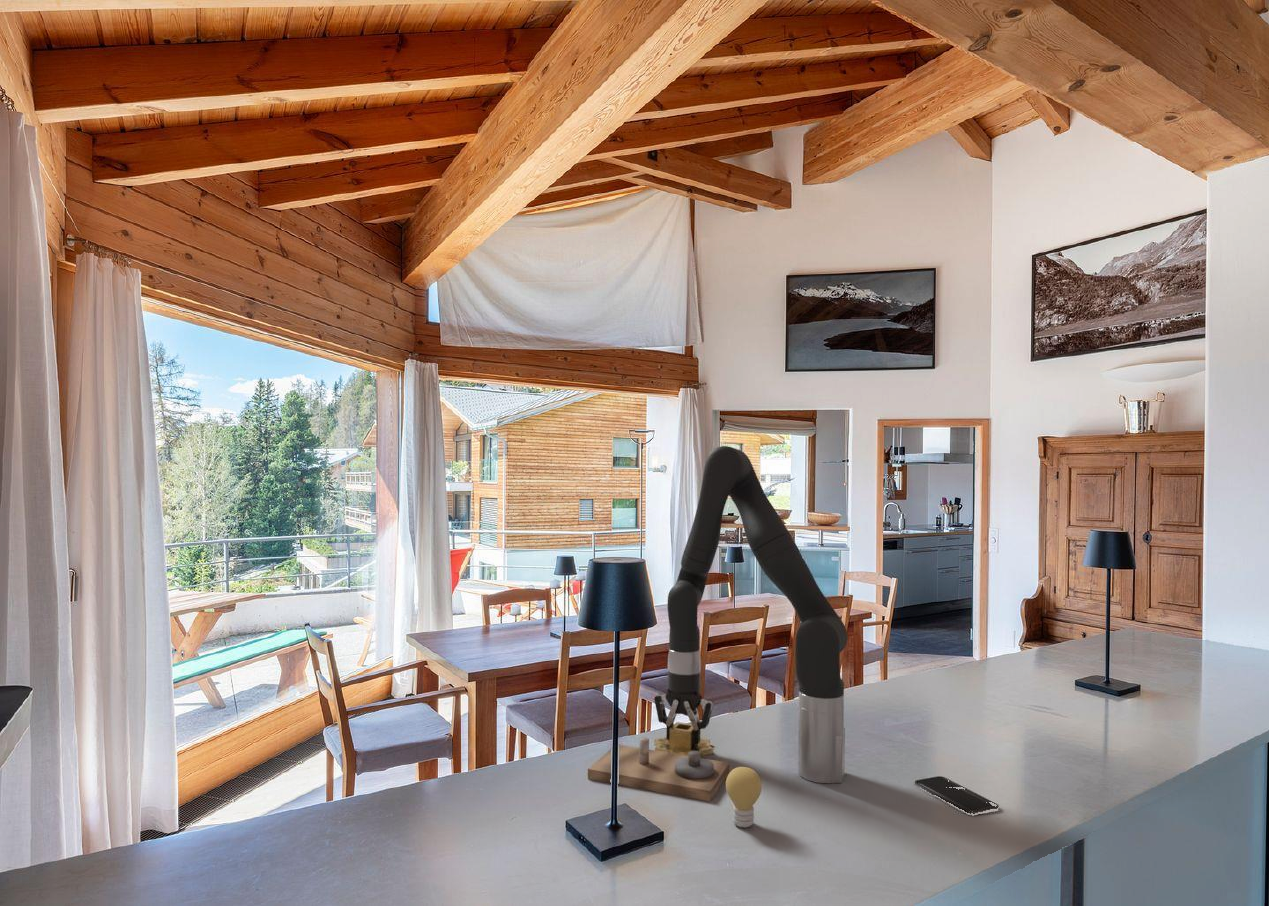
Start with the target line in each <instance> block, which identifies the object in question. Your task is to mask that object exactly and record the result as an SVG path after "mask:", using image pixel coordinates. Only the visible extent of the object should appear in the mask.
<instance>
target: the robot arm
mask: <svg viewBox="0 0 1269 906" xmlns="http://www.w3.org/2000/svg"><path fill="white" fill-rule="evenodd" d="M729 497H730V499H731V500H732V501H733V503H734V505H735V507H736V508H737V511H738V513H739V515H740V519H741V523H742V525H743V531H744V535H745V538H746V539H747V541H746V542H747V543H748V545H749V548H750V550H751V552H752V555H754V557H755V559H756V562H757V563H758V565H759V566H760V568H761V570H762V571H763V573H764V574H765V576H767V578H768V579H769V580H770V581H771V582H772V583H773V585H774V586H776V588H777V589H778V590H779V591H780V592H781V593H782V594H783V595H784V596H785V597H786V598H787V600H788V601H789V603H790V604H791V605H792V608H794V611H795V613H796V614H797V617H798V618H799V620H800V625H799V626H798V628H797V631H796V634H795V648H794V649H795V673H796V675H795V676H796V679H797V682H798V741H797V742H798V753H797V754H798V761H797V764H798V765H797V767H798V768H797V770H798V771H797V773H798V774H799V776H800V777H802V778H804V779H806V780H808V781H809V782H810V781H811V782H815V783H818V784H819V783H820V784H834V783H837V784H838V783H839V784H842V783H843V779H844V778H845V777H844V776H845V772H846V770H845V767H846V765H845V763H846V753H845V752H846V746H845V745H846V728H845V727H844V722H845V719H844V717H845V716H844V715H845V706H844V705H845V683H844V680H843V679H842V678H841V671H840V667H841V664H840V663H841V662H840V661H841V660H840V659H841V657H840V656H841V655H840V654H841V653H842V652H843V651H844V650H845V648H846V646H847V643H848V631H847V628H846V624H844V621H843V620H842V618H840V616H839V615H838V613H837V612H836V611H835V609H834V607H833V606H832V604H831V603H830V602H829V600H828V599H827V598H826V596H825V595H824V594H823V591H822V589H820V586H819V585H818V584H817V581H816V580H815V578H814V576H813V573H812V572H811V569H810V568H809V566H808V564H807V563H806V561H805V559H804V557H803V555H802V553H801V551H800V549H799V548H798V545H797V544H796V542H795V540H794V538H793V537H792V535H791V533H790V531H789V530H788V528H787V527H786V525H785V523H784V522H783V520H782V518H781V517H780V515H779V513H778V512H777V511H776V509H775V507H774V506H773V504H772V503H771V502H770V500H769V499H768V496H767V495H766V493H765V491H764V489H763V487H762V485H761V482H760V480H759V478H758V475H757V472H756V471H755V468H754V467H753V464H752V462H751V460H750V458H749V457H748V455H747V454H746V453H745V452H744V451H742V450H740V449H738V448H734V447H732V446H727V445H722V446H721V445H720V446H717V447H716V448H714V449H712V450H711V451H710V452H709V453H708V455H707V457H706V459H705V463H704V469H703V475H702V480H701V487H700V493H699V497H698V502H697V508H696V511H695V516H694V519H693V521H692V522H693V523H692V525H691V529H690V532H689V534H688V538H687V540H686V544H685V547H684V550H683V552H682V557H681V561H680V564H681V565H680V566H681V567H680V570H679V573H678V576H677V578H676V579H677V580H676V581H675V584H674V585H673V586H672V587H671V589H670V590H669V592H668V595H667V614H668V615H667V616H668V623H669V635H668V637H669V639H668V641H669V643H668V645H669V646H668V647H669V648H668V656H667V663H666V666H667V692H666V693H664V694H661V693H658V694H657V695H655V697H654V703H655V705H654V706H655V709H656V714H657V719H658V722H659V723H663V724H665V726H666V736H665V738H666V737H667V740H669V738H670V728H671V727H672V726H673V725H674V724H675V723H674V722H675V719H676V718H677V715H684V716H687V717H688V720H689V721H690V724H692V726H693V734H692V746H694V747H696V746H697V744H698V743H699V742H700V738H701V730H704V729H706V728H707V727H708V725H710V720H711V716H712V712H713V708H714V705H715V704H714V701H713V700H711V699H710V700H706V699H704V698H703V697H702V695H701V664H702V663H701V660H702V658H701V653H700V652H701V651H700V648H701V644H700V643H701V642H700V641H701V635H700V631H701V630H700V628H699V625H698V608H699V605H700V604H701V601H702V599H703V596H704V593H705V589H706V585H707V580H708V576H709V573H710V570H711V568H712V566H713V563H714V559H715V556H716V553H717V551H718V547H719V543H720V538H721V530H722V523H723V515H724V509H725V506H726V503H727V500H728V498H729ZM666 702H667V703H668V705H669V706H670V708H669V709H670V710H669V711H668V712H669V713H668V716H667V712H666V707H665V706H666V705H665V703H666ZM700 705H701V706H702V707H701V708H702V710H703V713H702V720H700V717H699V716H700V715H699V711H698V707H699V706H700Z"/></svg>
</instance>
